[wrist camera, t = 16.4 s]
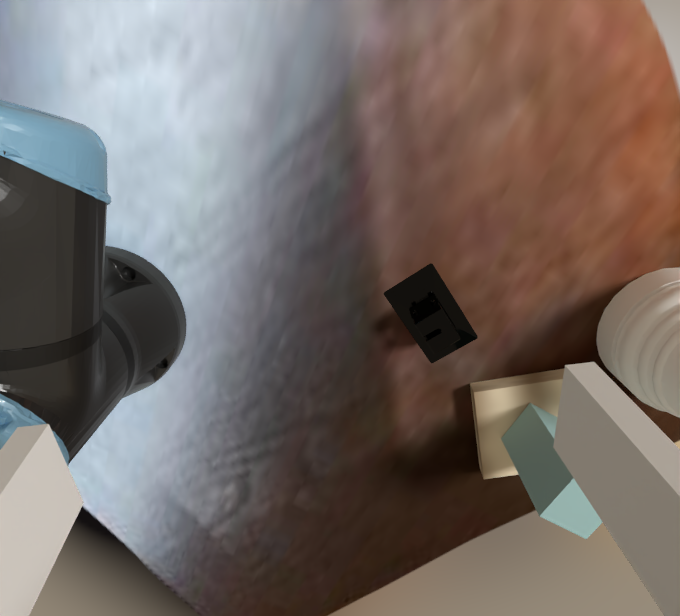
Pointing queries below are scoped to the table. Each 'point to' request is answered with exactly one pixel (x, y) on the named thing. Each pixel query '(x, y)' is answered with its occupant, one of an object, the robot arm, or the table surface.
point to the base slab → (508, 413)
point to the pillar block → (548, 473)
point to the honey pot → (645, 338)
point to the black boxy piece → (430, 313)
